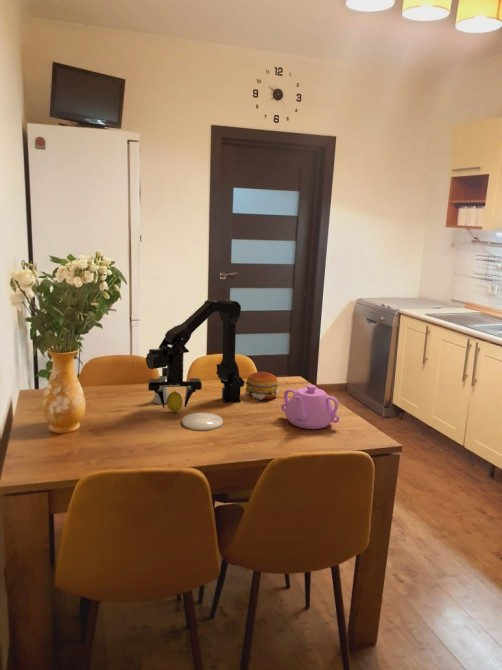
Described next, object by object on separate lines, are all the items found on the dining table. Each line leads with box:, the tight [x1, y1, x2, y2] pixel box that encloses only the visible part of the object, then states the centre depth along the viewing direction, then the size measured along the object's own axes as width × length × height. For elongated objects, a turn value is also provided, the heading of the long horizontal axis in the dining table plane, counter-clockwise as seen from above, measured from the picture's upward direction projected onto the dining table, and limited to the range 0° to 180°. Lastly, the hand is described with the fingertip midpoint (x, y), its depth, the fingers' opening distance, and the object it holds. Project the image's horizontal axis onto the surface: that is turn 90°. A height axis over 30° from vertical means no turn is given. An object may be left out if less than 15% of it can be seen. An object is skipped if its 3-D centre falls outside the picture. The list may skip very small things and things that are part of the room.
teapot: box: [280, 384, 341, 430], centre depth 183 cm, size 22×22×14 cm
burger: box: [245, 371, 279, 400], centre depth 212 cm, size 14×14×10 cm
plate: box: [181, 412, 224, 432], centre depth 182 cm, size 14×14×1 cm
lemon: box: [166, 390, 183, 413], centre depth 190 cm, size 6×6×8 cm
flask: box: [152, 375, 170, 405], centre depth 200 cm, size 7×7×10 cm
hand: (174, 407), depth 190 cm, fingers open, 7 cm apart
